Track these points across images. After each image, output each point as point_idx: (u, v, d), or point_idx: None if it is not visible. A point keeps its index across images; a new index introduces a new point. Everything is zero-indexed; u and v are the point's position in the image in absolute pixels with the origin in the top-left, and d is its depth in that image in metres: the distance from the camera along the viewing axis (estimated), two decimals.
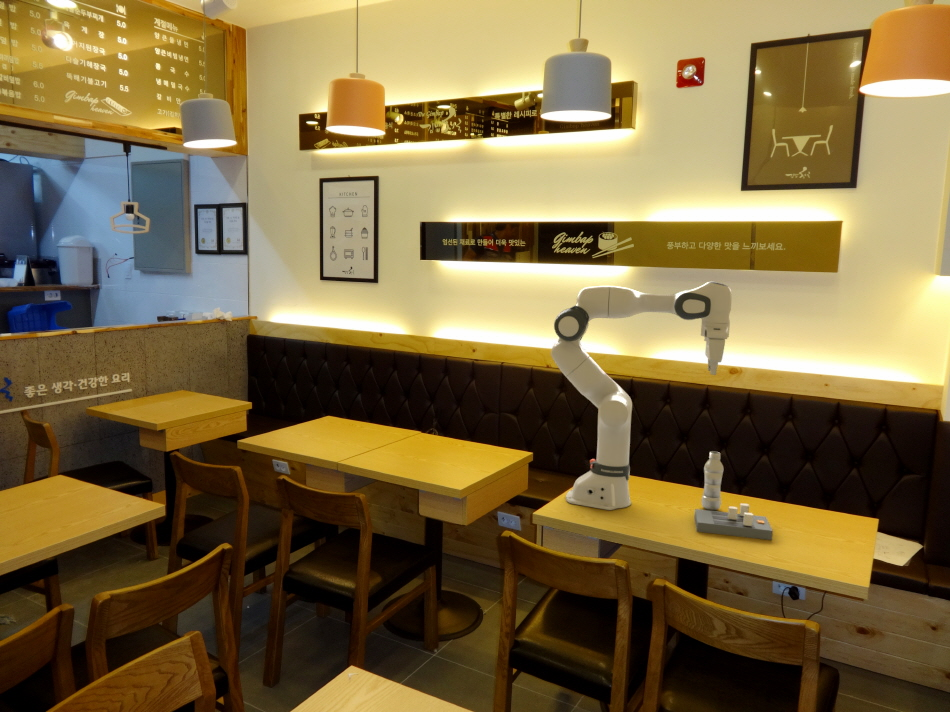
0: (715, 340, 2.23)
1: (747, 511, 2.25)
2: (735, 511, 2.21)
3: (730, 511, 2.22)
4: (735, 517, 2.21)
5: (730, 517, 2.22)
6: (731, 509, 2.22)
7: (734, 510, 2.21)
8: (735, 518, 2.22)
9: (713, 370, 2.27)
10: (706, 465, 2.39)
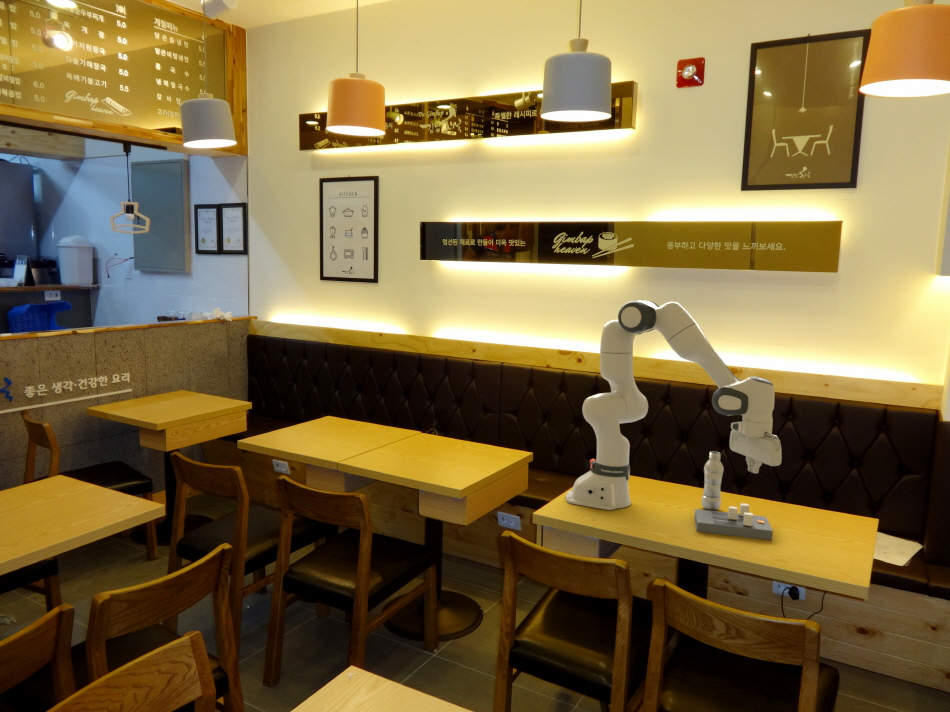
0: None
1: (747, 511, 2.25)
2: (735, 511, 2.21)
3: (730, 511, 2.22)
4: (735, 517, 2.21)
5: (730, 517, 2.22)
6: (731, 509, 2.22)
7: (734, 510, 2.21)
8: (735, 518, 2.22)
9: None
10: (706, 465, 2.39)
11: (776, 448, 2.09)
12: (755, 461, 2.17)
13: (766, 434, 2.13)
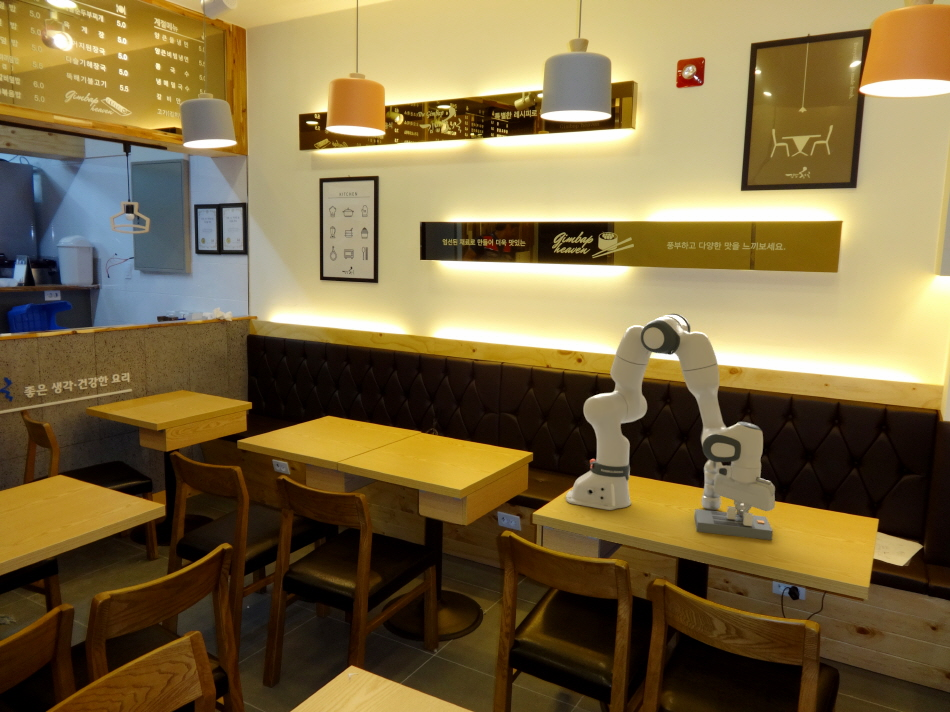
0: None
1: None
2: (734, 511, 2.21)
3: (729, 511, 2.22)
4: (734, 517, 2.22)
5: (729, 517, 2.22)
6: (730, 509, 2.22)
7: (732, 510, 2.21)
8: (734, 518, 2.22)
9: None
10: (706, 465, 2.39)
11: (771, 494, 2.13)
12: (745, 506, 2.19)
13: (758, 479, 2.16)
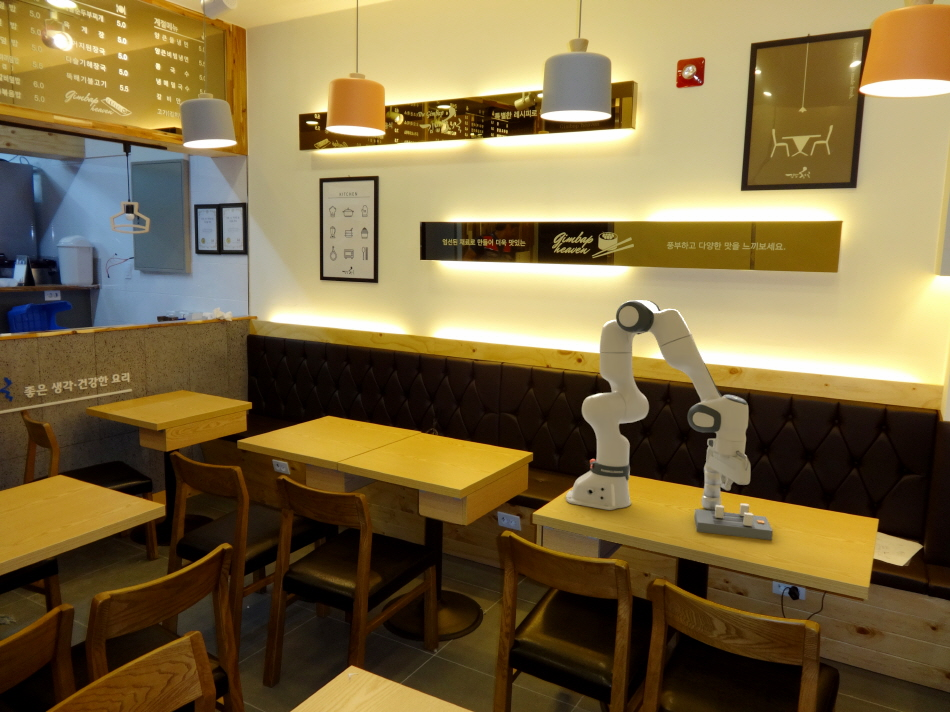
0: None
1: (747, 511, 2.25)
2: (721, 510, 2.22)
3: (717, 510, 2.23)
4: (721, 516, 2.22)
5: (717, 516, 2.23)
6: (718, 508, 2.23)
7: (720, 509, 2.22)
8: (721, 517, 2.23)
9: None
10: (706, 465, 2.39)
11: (745, 467, 2.11)
12: (727, 478, 2.20)
13: (737, 453, 2.16)
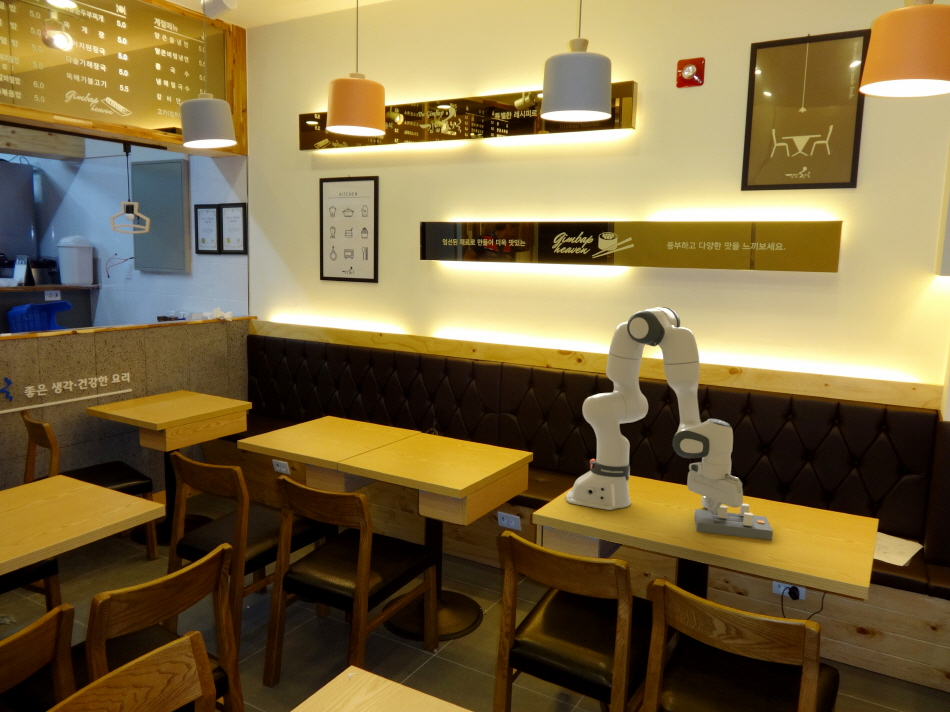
0: None
1: (747, 511, 2.25)
2: (725, 510, 2.22)
3: (720, 510, 2.22)
4: (725, 516, 2.22)
5: (720, 516, 2.23)
6: (721, 508, 2.22)
7: (723, 509, 2.22)
8: (725, 517, 2.22)
9: None
10: None
11: (738, 490, 2.14)
12: (715, 502, 2.21)
13: (727, 476, 2.18)
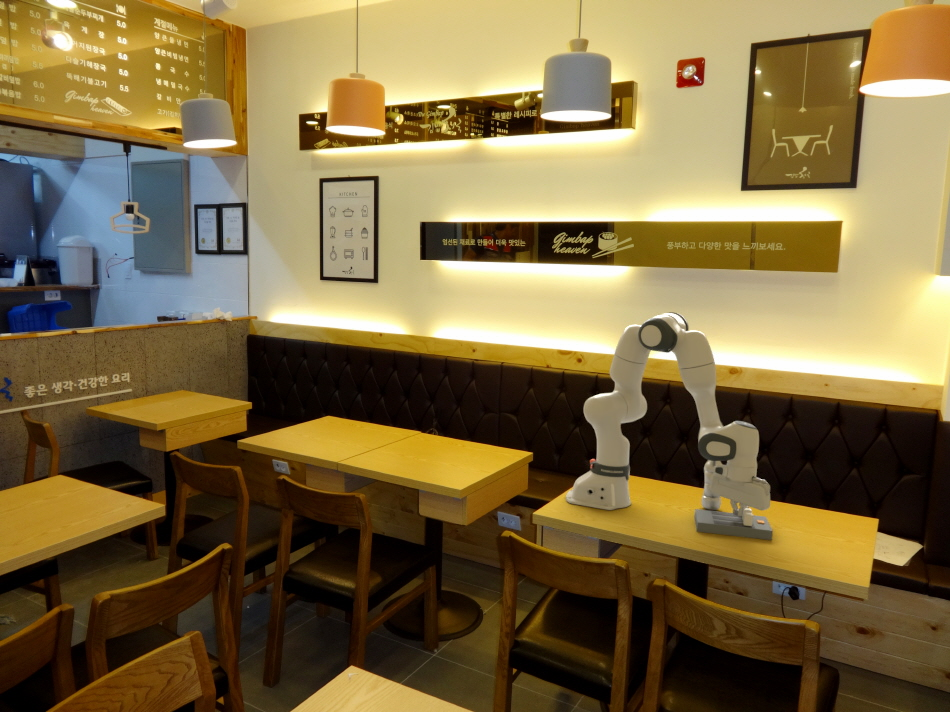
0: None
1: None
2: None
3: None
4: None
5: None
6: (745, 511, 2.21)
7: (748, 512, 2.20)
8: None
9: None
10: (706, 465, 2.39)
11: (766, 493, 2.12)
12: (741, 505, 2.19)
13: (754, 478, 2.16)
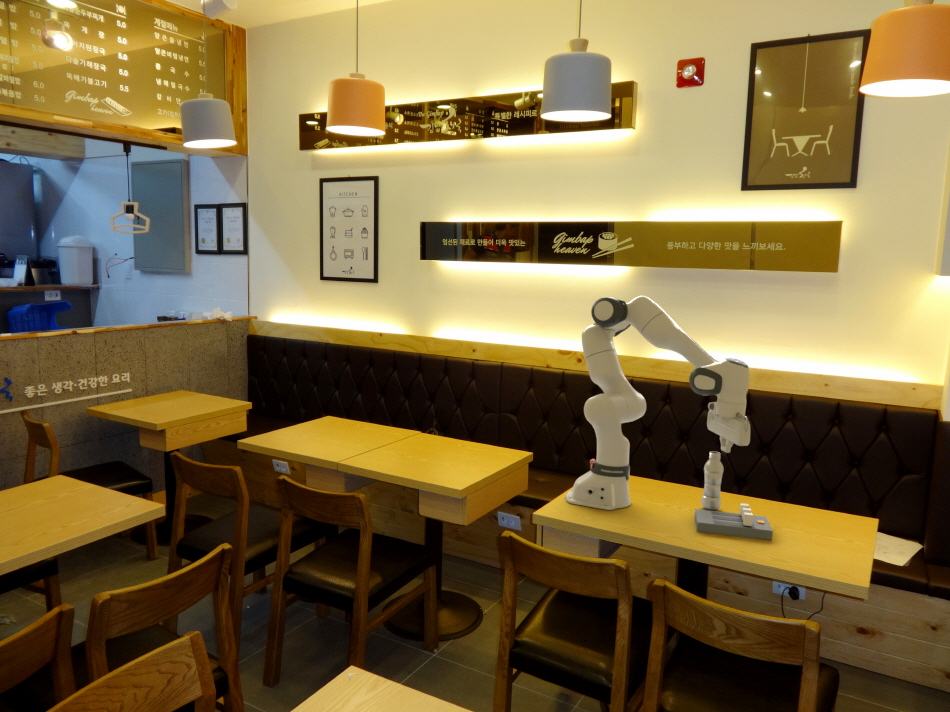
0: None
1: None
2: (749, 512, 2.20)
3: None
4: None
5: None
6: (745, 510, 2.21)
7: (747, 512, 2.20)
8: None
9: None
10: (706, 465, 2.39)
11: (744, 429, 2.14)
12: (727, 441, 2.23)
13: (737, 415, 2.18)
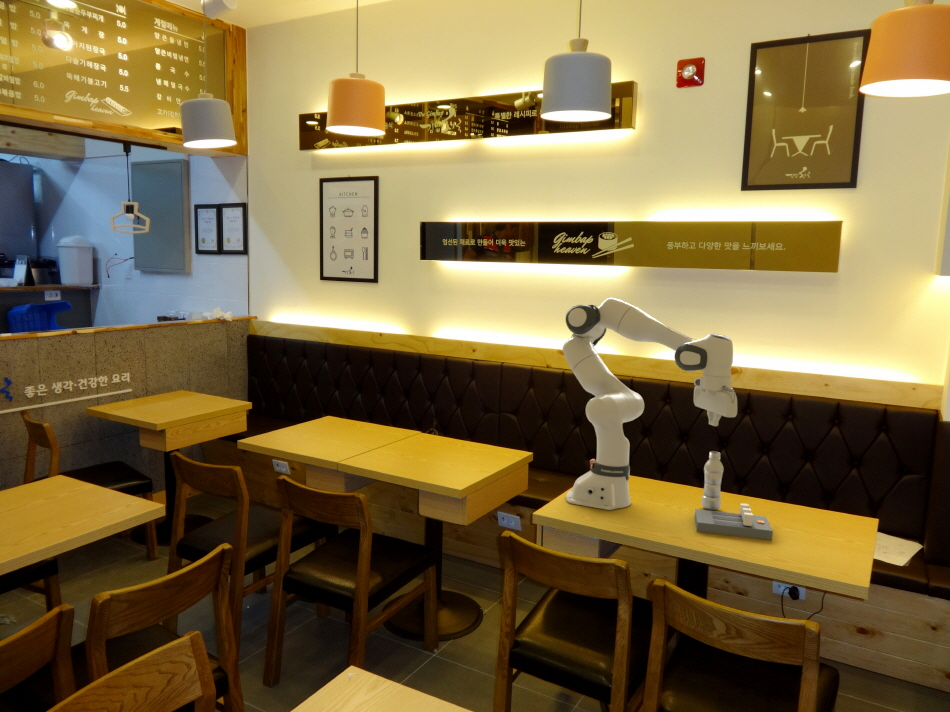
0: None
1: None
2: (749, 512, 2.20)
3: None
4: None
5: None
6: (745, 510, 2.21)
7: (747, 512, 2.20)
8: None
9: None
10: (706, 465, 2.39)
11: (731, 400, 2.19)
12: (714, 414, 2.28)
13: (724, 387, 2.24)
